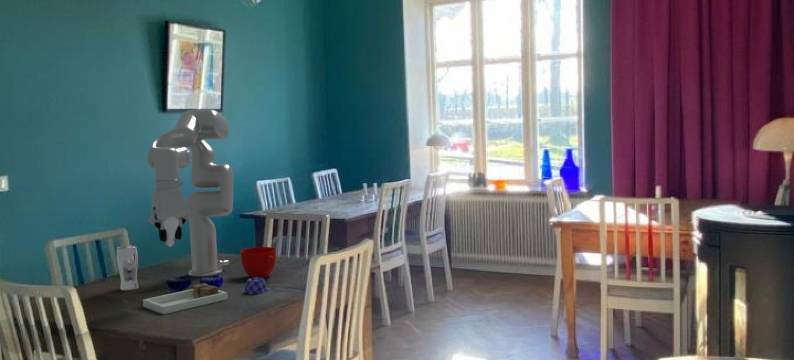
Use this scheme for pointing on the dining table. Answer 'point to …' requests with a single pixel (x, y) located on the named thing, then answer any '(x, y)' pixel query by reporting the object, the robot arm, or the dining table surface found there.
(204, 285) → the walnut block
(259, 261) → the ceramic cup
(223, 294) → the tray
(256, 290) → the pudding
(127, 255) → the beer glass
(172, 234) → the lightbulb
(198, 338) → the dining table surface
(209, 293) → the walnut block
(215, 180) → the robot arm
